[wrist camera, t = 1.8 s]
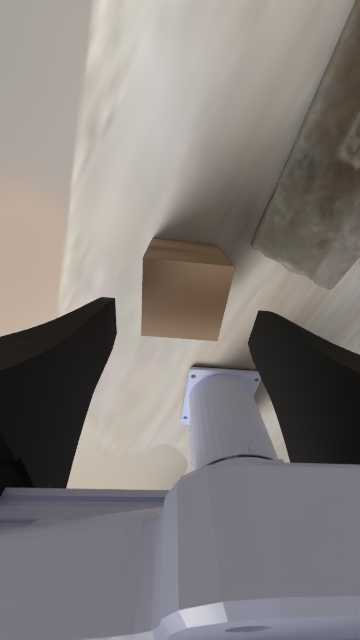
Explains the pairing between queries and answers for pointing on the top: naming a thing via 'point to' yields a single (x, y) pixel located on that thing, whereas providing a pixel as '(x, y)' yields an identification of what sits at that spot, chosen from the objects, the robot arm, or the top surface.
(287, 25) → the top surface
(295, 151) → the stone
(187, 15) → the top surface
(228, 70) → the top surface
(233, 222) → the top surface
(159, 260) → the walnut block
